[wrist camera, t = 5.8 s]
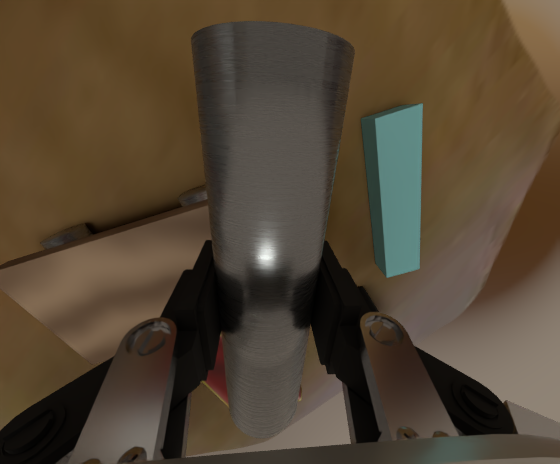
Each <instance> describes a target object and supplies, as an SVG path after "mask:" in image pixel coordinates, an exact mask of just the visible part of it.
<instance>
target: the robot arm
mask: <svg viewBox="0 0 560 464" xmlns="http://www.w3.org/2000/svg"><path fill="white" fill-rule="evenodd" d="M311 327H312V331H313V335H314V339H315V343H316V347H317V352H318V356H319V360H320V363H321V365H325V366H326V370H327V373H328V374H336V377H337V378H338V379H339V380H340V381H342V386H343V393H344V400H345V406H346V413H347V420H348V426H349V433H350V439H351V444H344V445H331V446H319V447H307V448H295V449H283V450H270V451H259V452H246V453H234V454H222V455H211V456H199V457H187V458H185V457H186V446H187V436H188V425H189V415H190V404H191V392H192V391H193V390H194V389H195V388H196V387H197V386H199V384H200V381H207V376H208V371H209V370H214V367H215V362H216V356H217V351H218V346H219V340H220V335H221V324H220V314H219V304H218V295H217V285H216V275H215V268H214V258H213V249H212V240H206V241H205V243H204V245H203V247H202V249H201V252H200V254H199V256H198V258H197V260H196V263H195V265H194V267H193V269H186V270H184V271H183V273H182V275H181V277H180V279H179V280H178V282H177V284H176V286H175V288H174V290H173V292H172V294H171V296H170V298H169V300H168V302H167V304H166V306H165V308H164V310H163V312H162V314H161V316H160V318H152V319H148V320H145V321H143V322H141V323H139V324H137V325H136V326H135V327H133V328H132V329H130V330H129V331H128V332H127V333H126V334H125V336H124V337H123V339H122V341H121V342H120V344H119V347H118V349H117V351H116V354H115V356H113V357H112V358H110V359H108V360H107V361H105V362H103V363H102V364H100V365H98V366H97V367H95V368H94V369H92V370H90V371H89V372H87V373H85V374H84V375H82V376H80V377H79V378H77V379H75V380H74V381H72V382H70V383H69V384H67V385H65V386H64V387H62V388H60V389H59V390H57V391H55V392H54V393H52V394H50V395H49V396H47V397H46V398H44V399H42V400H41V401H39V402H37V403H36V404H34V405H32V406H31V407H29V408H28V409H26V410H25V411H23V412H22V413H20V414H19V415H17V416H16V417H15V418H14V419H12V420H11V421H10V422H9V423H8V424H7V425H6V426H5V427H4V428H3V429H2V430H1V431H0V464H560V423H558V422H556V421H554V420H551V419H549V418H547V417H544V416H542V415H540V414H537V413H535V412H533V411H530V410H528V409H526V408H524V407H521V406H519V405H517V404H514V403H512V402H510V401H507V400H506V401H505V402H504V403H502V402H501V401H500V400H499V398H498V397H497V396H496V395H495V394H494V393H492V392H491V391H490V390H489V389H488V388H487V387H485V386H483V385H482V384H481V383H479V382H477V381H476V380H474V379H472V378H470V377H468V376H467V375H465V374H463V373H462V372H460V371H458V370H456V369H454V368H453V367H451V366H449V365H447V364H445V363H444V362H442V361H440V360H438V359H437V358H435V357H433V356H431V355H430V354H428V353H426V352H424V351H423V350H421V349H419V348H417V347H415V346H414V344H413V342H412V340H411V338H410V336H409V334H408V332H407V331H406V329H405V328H404V326H403V325H402V324H401V323H400V322H398V321H397V320H396V319H394V318H393V317H391V316H389V315H387V314H384V313H380V312H371V310H370V309H369V307H368V305H367V303H366V302H365V300H364V298H363V296H362V295H361V293H360V291H359V289H358V288H357V286H356V284H355V282H354V281H353V279H352V277H351V275H350V274H349V272H348V270H347V269H345V268H341V266H340V264H339V262H338V260H337V258H336V256H335V255H334V253H333V251H332V249H331V247H330V245H329V243H328V242H327V241H324V244H323V250H322V256H321V262H320V268H319V274H318V281H317V287H316V293H315V299H314V305H313V311H312V317H311Z"/></svg>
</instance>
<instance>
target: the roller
mask: <svg viewBox="0 0 560 464" xmlns="http://www.w3.org/2000/svg"><path fill="white" fill-rule="evenodd" d="M191 45H192V54H193V64H194V74H195V83H196V93H197V103H198V113H199V122H200V132H201V142H202V151H203V161H204V171H205V181H206V190H207V200H208V210H209V220H210V229H211V239H212V249H213V258H214V268H215V275H216V285H217V295H218V304H219V314H220V324H221V336H222V346H223V356H224V365H225V375H226V385H227V394H228V404H229V411H230V414H231V417H232V419H233V421H234V423H235V424H236V425H237V427H238V428H239V429H240V430H241V431H242V432H244V433H245V434H247V435H249V436H251V437H255V438H268V437H272V436H274V435H276V434H278V433H280V432H281V431H283V430H284V429H285V428H286V427H287V426H288V424H289V423H290V422H291V420H292V418H293V416H294V414H295V411H296V408H297V403H298V397H299V390H300V384H301V378H302V372H303V366H304V360H305V354H306V348H307V342H308V336H309V329H310V323H311V317H312V311H313V305H314V299H315V293H316V287H317V281H318V274H319V268H320V262H321V256H322V250H323V244H324V238H325V232H326V226H327V219H328V213H329V207H330V201H331V195H332V189H333V183H334V177H335V171H336V165H337V158H338V152H339V146H340V140H341V134H342V128H343V122H344V116H345V110H346V103H347V97H348V91H349V85H350V79H351V73H352V67H353V61H354V55H355V50H354V47H353V46H352V45H351V44H350V43H349V42H348V41H346V40H345V39H343V38H341V37H339V36H337V35H334V34H331V33H329V32H326V31H322V30H319V29H315V28H310V27H306V26H300V25H294V24H287V23H278V22H262V21H244V22H230V23H222V24H217V25H212V26H208V27H205V28H203V29H201V30H199V31H197V32H196V33H194V34H193V36H192V37H191Z"/></svg>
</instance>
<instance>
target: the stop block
mask: <svg viewBox="0 0 560 464" xmlns="http://www.w3.org/2000/svg"><path fill="white" fill-rule="evenodd" d="M422 109H423V103H422V104H411V105H401V106H398V107H395V108H392V109H389V110H386V111H383V112H380V113H377V114H374V115H370V116H367V117H364V118H361V125H362V135H363V145H364V155H365V165H366V175H367V184H368V194H369V204H370V214H371V224H372V234H373V244H374V253H375V263H376V265H377V266H378V267H379V268H380V270H381V271H382V272H383V274H384V275H385V276H386V277H387V278H388V277H391V276H395V275H399V274H402V273H406V272H410V271H414V270H417V269H420V215H421V162H422Z"/></svg>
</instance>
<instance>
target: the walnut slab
mask: <svg viewBox="0 0 560 464" xmlns="http://www.w3.org/2000/svg"><path fill="white" fill-rule="evenodd" d="M206 240H212V239H211V229H210V220H209V210H208V200H207V199H206V200H203V201H200V202H196V203H193V204H190V205H187V206H184V207H180V208H177V209H174V210H171V211H168V212H164V213H161V214H158V215H155V216H152V217H148V218H145V219H142V220H139V221H136V222H133V223H129V224H126V225H123V226H120V227H117V228H113V229H110V230H107V231H104V232H101V233H97V234H94V235H91V236H88V237H85V238H81V239H78V240H75V241H72V242H69V243H65V244H62V245H59V246H56V247H53V248H49V249H46V250H43V251H40V252H37V253H33V254H30V255H27V256H24V257H21V258H17V259H14V260H11V261H8V262H6V263H4V264H2V265H0V289H1V290H2V291H4V292H5V293H6V294H7V295H8V296H10V297H11V298H12V299H13V300H14V301H16V302H17V303H18V304H19V305H20V306H22V307H23V308H24V309H25V310H26V311H28V312H29V313H30V314H31V315H33V316H34V317H35V318H36V319H37V320H39V321H40V322H41V323H42V324H43V325H45V326H46V327H47V328H48V329H49V330H51V331H52V332H53V333H54V334H56V335H57V336H58V337H59V338H60V339H62V340H63V341H64V342H65V343H66V344H68V345H69V346H70V347H71V348H72V349H74V350H75V351H76V352H77V353H78V354H80V355H81V356H82V357H83V358H85V359H86V360H87V361H88V362H89V363H91V364H92V365H93V364H97V363H100V362H104V361H107V360H108V359H110V358H112V357H113V356H115V354H116V351H117V349H118V347H119V344H120V342H121V341H122V339H123V337H124V336H125V334H126V333H127V332H128V331H129V330H130V329H132V328H133V327H135V326H136V325H137V324H139V323H141V322H143V321H145V320H148V319H152V318H160V316H161V314H162V312H163V310H164V308H165V306H166V304H167V302H168V300H169V298H170V296H171V294H172V292H173V290H174V288H175V286H176V284H177V282H178V280H179V279H180V277H181V275H182V273H183V271H184V270H186V269H193V267H194V265H195V263H196V260H197V258H198V256H199V254H200V252H201V249H202V247H203V245H204V243H205V241H206Z"/></svg>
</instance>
